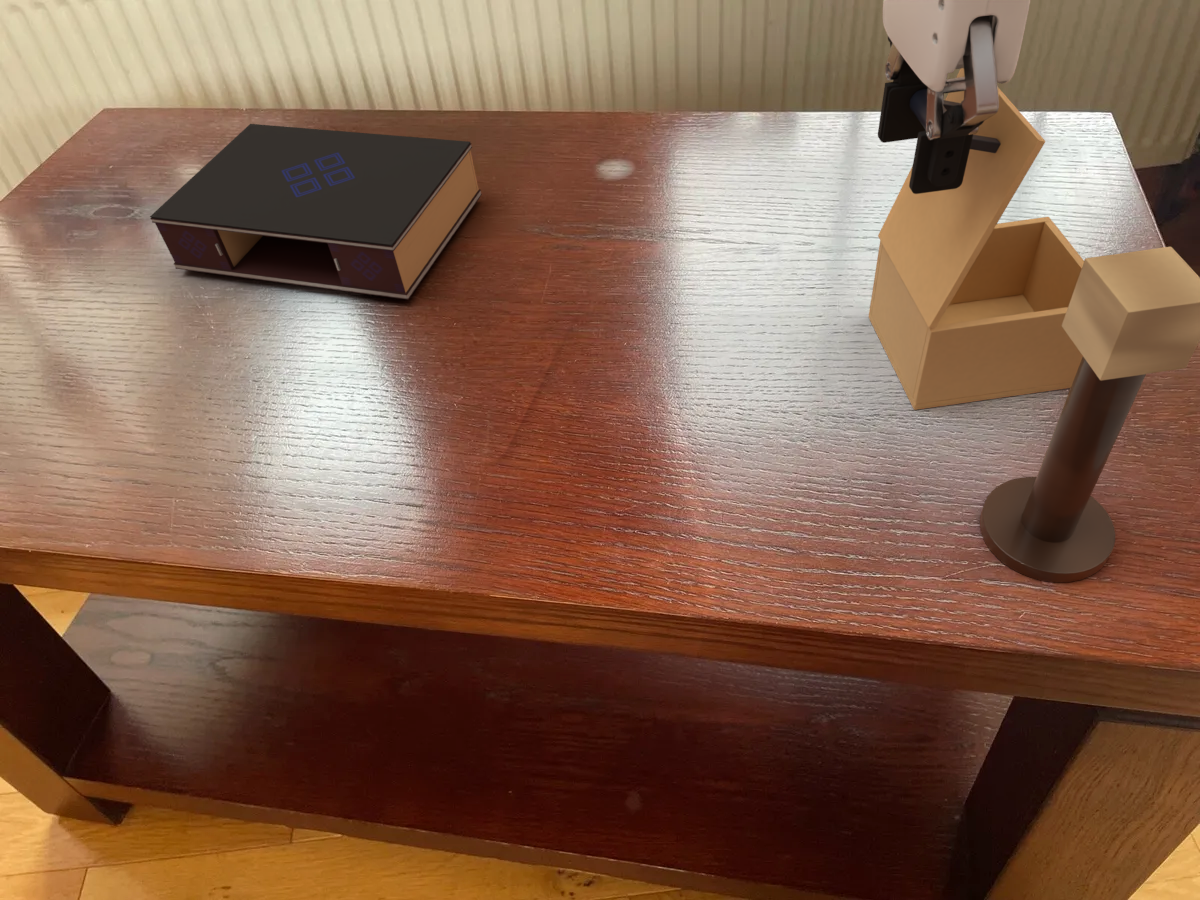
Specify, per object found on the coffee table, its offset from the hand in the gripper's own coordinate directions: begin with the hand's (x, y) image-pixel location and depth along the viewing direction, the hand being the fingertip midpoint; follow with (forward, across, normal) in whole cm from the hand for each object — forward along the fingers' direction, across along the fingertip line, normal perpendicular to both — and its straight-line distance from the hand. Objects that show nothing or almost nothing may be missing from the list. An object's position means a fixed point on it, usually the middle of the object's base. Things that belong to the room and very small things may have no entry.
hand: (917, 160), depth 61 cm
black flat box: (+18, +28, +46) cm, 57 cm away
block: (+1, -18, -5) cm, 19 cm away
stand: (+17, -18, -5) cm, 26 cm away
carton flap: (+3, 0, -3) cm, 4 cm away
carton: (+17, 0, -7) cm, 19 cm away
